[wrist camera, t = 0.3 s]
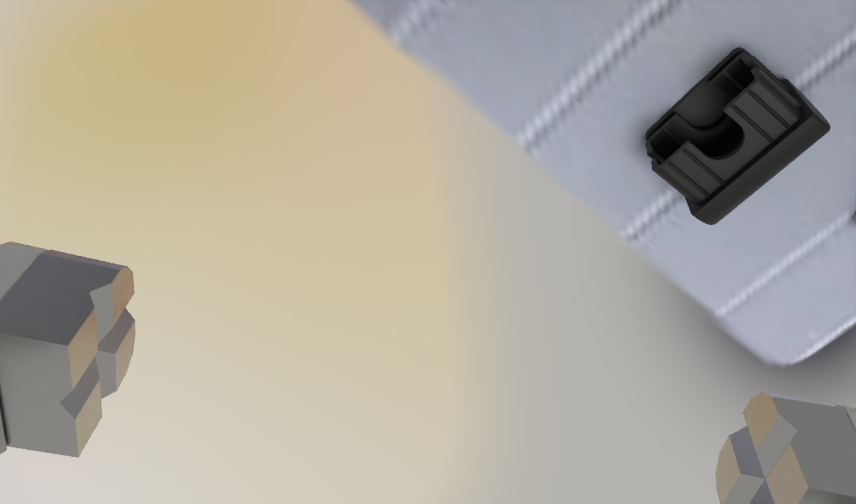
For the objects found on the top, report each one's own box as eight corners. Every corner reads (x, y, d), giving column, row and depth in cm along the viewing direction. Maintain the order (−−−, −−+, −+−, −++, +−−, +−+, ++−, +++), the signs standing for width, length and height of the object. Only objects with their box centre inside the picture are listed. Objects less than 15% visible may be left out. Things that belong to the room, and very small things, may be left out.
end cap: (702, 193, 62) (722, 240, 56) (637, 139, 59) (651, 183, 54) (811, 100, 57) (844, 142, 51) (744, 38, 55) (772, 74, 49)
